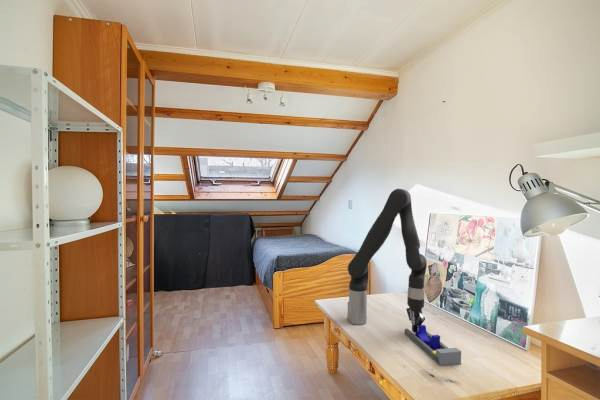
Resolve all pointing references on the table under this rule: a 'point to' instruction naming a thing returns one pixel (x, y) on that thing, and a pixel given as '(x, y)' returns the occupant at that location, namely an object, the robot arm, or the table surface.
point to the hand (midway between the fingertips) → (414, 331)
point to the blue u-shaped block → (433, 342)
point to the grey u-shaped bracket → (437, 351)
